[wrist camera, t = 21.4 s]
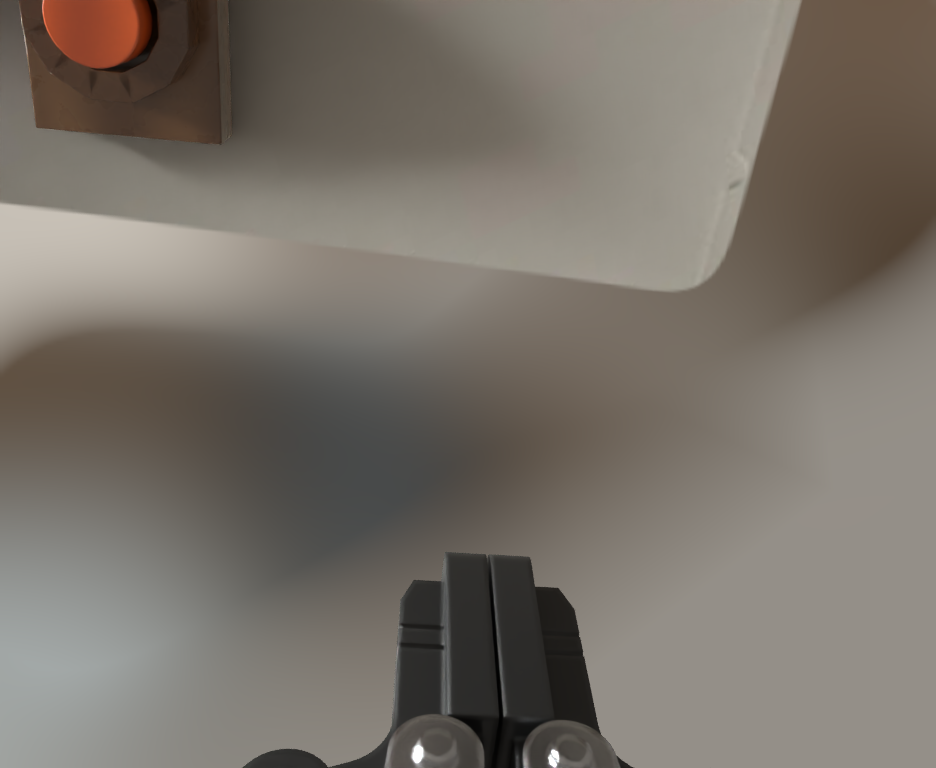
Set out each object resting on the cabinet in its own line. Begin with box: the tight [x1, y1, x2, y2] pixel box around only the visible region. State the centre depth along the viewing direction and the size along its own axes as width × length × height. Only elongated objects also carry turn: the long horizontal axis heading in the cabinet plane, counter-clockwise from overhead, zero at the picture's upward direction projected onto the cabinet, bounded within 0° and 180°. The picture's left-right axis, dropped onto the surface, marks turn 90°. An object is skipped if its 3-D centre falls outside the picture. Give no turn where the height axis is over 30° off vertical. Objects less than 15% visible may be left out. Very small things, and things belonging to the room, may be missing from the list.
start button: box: [42, 0, 152, 69], centre depth 33 cm, size 4×4×2 cm
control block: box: [19, 0, 232, 145], centre depth 35 cm, size 8×10×4 cm
